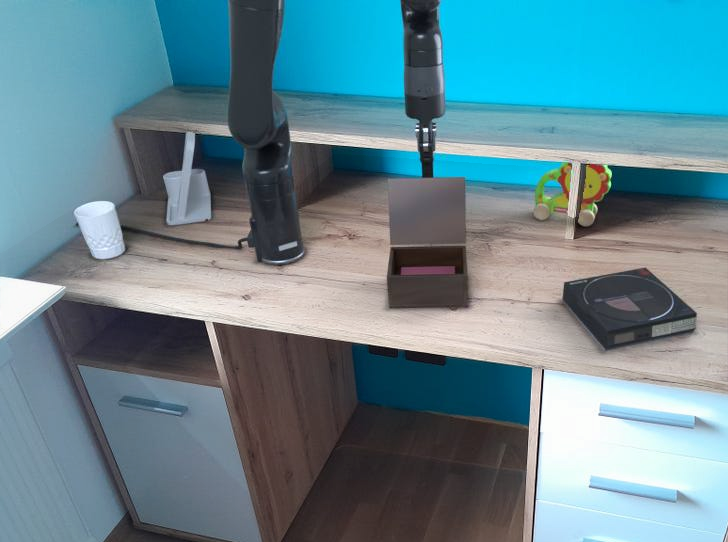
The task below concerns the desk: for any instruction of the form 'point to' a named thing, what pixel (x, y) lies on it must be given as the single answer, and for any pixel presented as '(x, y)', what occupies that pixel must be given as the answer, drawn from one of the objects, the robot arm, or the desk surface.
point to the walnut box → (427, 277)
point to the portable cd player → (628, 308)
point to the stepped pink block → (428, 270)
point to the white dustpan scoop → (187, 190)
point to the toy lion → (593, 191)
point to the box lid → (427, 210)
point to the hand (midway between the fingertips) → (427, 179)
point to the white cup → (101, 229)
